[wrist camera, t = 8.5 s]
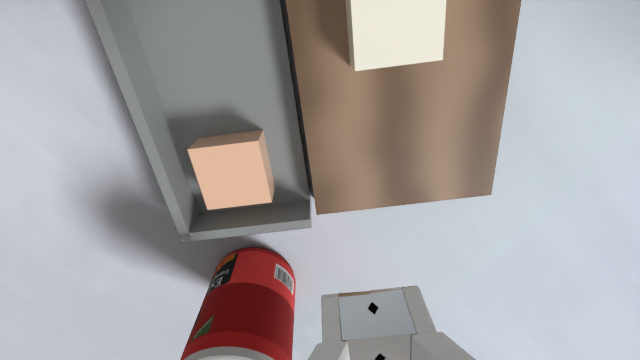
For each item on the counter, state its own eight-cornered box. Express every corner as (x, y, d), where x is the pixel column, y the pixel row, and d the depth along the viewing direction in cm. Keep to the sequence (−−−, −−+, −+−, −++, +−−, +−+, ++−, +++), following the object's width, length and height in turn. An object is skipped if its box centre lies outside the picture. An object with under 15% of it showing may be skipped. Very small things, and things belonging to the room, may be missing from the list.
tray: (271, -60, 19) (263, -77, 16) (311, 204, 27) (311, 227, 24) (105, -37, 19) (65, -49, 16) (196, 217, 28) (181, 242, 24)
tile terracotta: (263, 129, 23) (258, 140, 21) (275, 187, 26) (271, 202, 23) (199, 137, 24) (187, 149, 21) (216, 193, 26) (207, 209, 24)
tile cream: (431, -38, 17) (449, -48, 15) (427, 56, 20) (442, 60, 17) (343, -27, 18) (348, -34, 15) (349, 66, 20) (355, 71, 18)
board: (509, -83, 19) (536, -98, 16) (475, 180, 27) (491, 194, 24) (280, -51, 19) (276, -61, 17) (316, 199, 27) (316, 214, 25)
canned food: (222, 237, 29) (176, 347, 19) (304, 254, 30) (302, 366, 20) (211, 294, 32) (167, 414, 22) (286, 308, 33) (276, 427, 23)
